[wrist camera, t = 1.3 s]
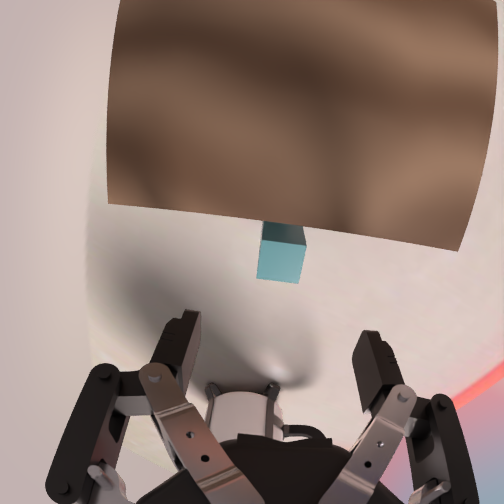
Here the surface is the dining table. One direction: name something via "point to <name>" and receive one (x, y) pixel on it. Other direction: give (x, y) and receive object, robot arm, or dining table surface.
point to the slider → (281, 252)
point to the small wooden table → (305, 112)
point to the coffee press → (250, 415)
